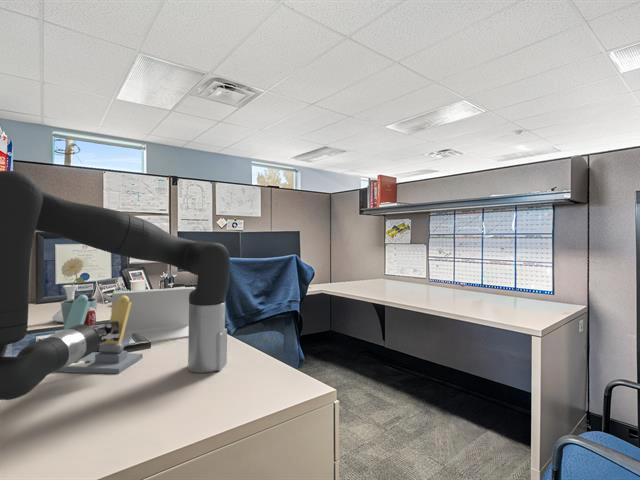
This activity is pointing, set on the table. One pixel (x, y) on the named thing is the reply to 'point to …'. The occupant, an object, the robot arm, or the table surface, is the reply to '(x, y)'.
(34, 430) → the table surface
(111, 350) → the ochre lever
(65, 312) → the grey teal bucket
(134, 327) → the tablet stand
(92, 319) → the soda can
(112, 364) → the console
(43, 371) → the robot arm
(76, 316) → the teal lever
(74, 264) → the flower in vase
